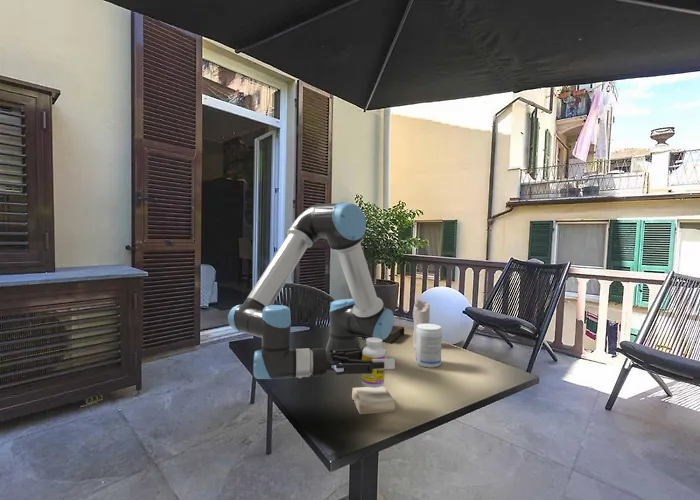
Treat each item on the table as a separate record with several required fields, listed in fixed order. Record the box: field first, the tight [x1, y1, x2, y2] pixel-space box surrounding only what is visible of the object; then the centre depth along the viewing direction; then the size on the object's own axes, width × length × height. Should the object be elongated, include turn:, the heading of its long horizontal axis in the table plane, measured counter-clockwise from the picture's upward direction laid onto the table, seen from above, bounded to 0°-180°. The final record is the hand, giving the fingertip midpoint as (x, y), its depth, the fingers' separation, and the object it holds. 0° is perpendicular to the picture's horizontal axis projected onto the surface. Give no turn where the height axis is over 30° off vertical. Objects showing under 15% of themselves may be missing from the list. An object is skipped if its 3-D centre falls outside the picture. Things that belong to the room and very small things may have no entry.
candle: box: [412, 299, 430, 350], centre depth 155 cm, size 7×14×20 cm, turn 173°
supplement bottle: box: [360, 337, 386, 388], centre depth 101 cm, size 7×7×13 cm
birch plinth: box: [351, 385, 396, 415], centre depth 101 cm, size 10×10×3 cm
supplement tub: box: [415, 323, 443, 369], centre depth 135 cm, size 10×10×15 cm
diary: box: [358, 325, 405, 345], centre depth 172 cm, size 19×25×5 cm
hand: (390, 358), depth 102 cm, fingers closed on supplement bottle, 7 cm apart
